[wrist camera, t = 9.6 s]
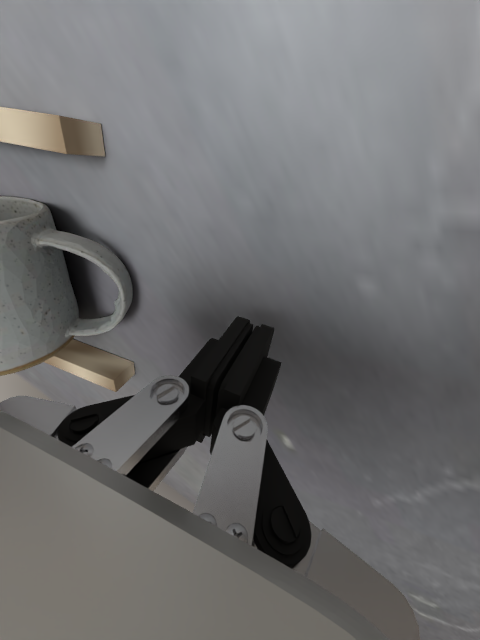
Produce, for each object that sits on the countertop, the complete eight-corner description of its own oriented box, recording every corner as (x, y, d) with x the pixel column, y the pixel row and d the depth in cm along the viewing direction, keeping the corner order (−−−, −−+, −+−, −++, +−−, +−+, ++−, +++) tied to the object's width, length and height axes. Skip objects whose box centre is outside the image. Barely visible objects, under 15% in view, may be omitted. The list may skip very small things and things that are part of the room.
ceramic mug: (33, 307, 20) (-108, 372, 13) (-18, 191, 15) (-262, 206, 9) (149, 338, 17) (42, 436, 11) (128, 210, 13) (-71, 248, 7)
